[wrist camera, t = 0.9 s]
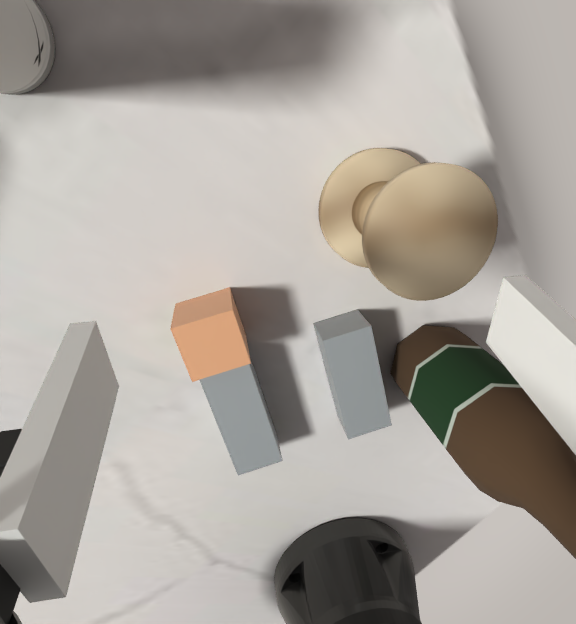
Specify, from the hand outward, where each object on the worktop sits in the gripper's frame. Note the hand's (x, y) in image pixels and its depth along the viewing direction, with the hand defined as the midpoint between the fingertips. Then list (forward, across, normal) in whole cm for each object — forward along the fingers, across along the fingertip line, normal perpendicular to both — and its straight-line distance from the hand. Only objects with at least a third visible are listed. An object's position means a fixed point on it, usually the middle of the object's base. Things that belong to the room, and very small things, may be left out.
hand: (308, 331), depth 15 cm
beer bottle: (+18, -14, +19) cm, 30 cm away
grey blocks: (+18, -1, +19) cm, 26 cm away
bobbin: (+21, -9, +5) cm, 23 cm away
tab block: (+19, +5, +12) cm, 23 cm away
